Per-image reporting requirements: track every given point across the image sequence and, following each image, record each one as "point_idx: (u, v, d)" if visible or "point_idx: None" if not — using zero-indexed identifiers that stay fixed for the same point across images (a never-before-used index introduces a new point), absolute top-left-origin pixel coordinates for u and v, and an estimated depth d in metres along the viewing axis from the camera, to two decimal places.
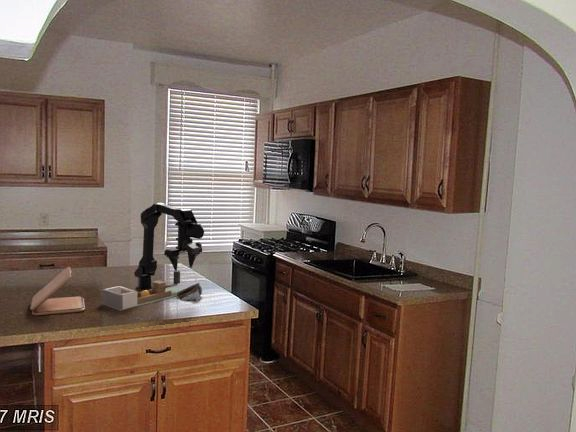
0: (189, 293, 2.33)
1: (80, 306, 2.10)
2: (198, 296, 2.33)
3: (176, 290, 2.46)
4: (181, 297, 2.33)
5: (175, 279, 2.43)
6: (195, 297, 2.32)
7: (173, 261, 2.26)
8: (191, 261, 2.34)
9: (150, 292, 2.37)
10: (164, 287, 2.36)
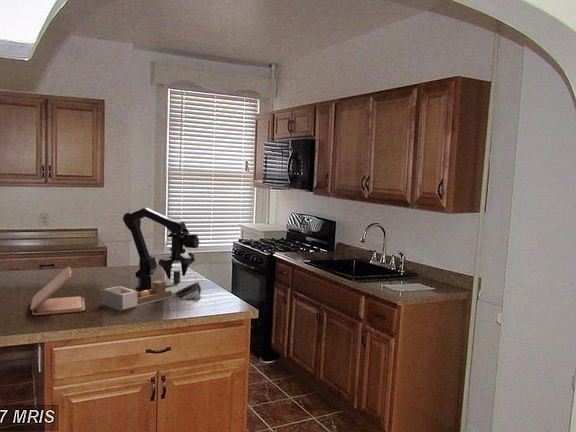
0: (189, 292, 2.35)
1: (80, 306, 2.10)
2: (198, 295, 2.34)
3: (176, 290, 2.46)
4: (181, 296, 2.34)
5: (175, 279, 2.43)
6: (195, 296, 2.33)
7: (167, 270, 2.40)
8: (184, 270, 2.48)
9: (150, 292, 2.37)
10: (164, 287, 2.36)
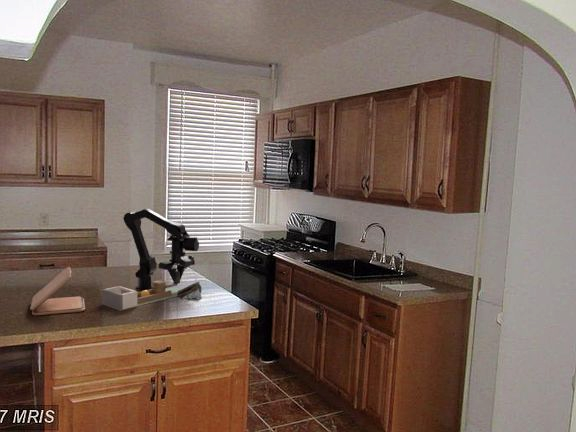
0: (190, 292, 2.35)
1: (80, 306, 2.10)
2: (199, 295, 2.35)
3: (176, 290, 2.46)
4: (182, 296, 2.35)
5: (175, 279, 2.43)
6: (196, 296, 2.34)
7: (171, 272, 2.42)
8: (180, 274, 2.46)
9: (150, 292, 2.37)
10: (164, 287, 2.36)
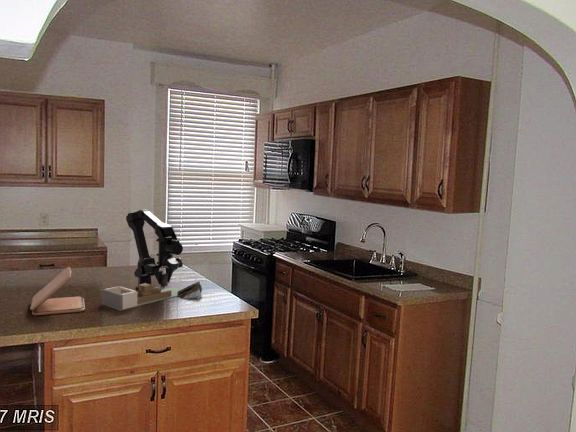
0: (190, 292, 2.35)
1: (80, 306, 2.10)
2: (199, 294, 2.36)
3: (176, 290, 2.46)
4: (182, 296, 2.35)
5: (162, 282, 2.37)
6: (197, 295, 2.34)
7: (157, 275, 2.35)
8: (168, 276, 2.40)
9: None
10: (151, 290, 2.30)
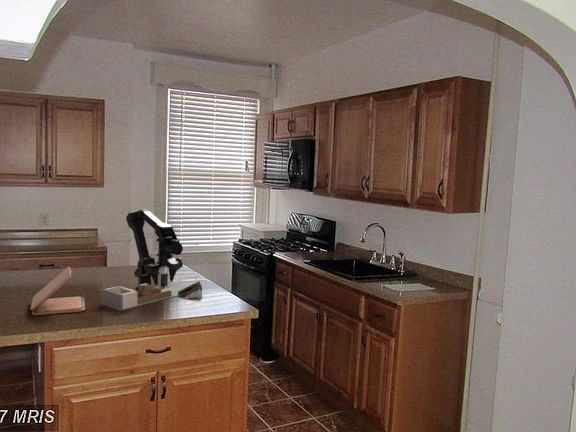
0: (191, 291, 2.36)
1: (80, 306, 2.10)
2: (200, 294, 2.36)
3: (176, 290, 2.46)
4: (183, 296, 2.35)
5: (162, 282, 2.37)
6: (197, 295, 2.35)
7: (154, 276, 2.34)
8: (172, 275, 2.42)
9: None
10: (151, 290, 2.30)
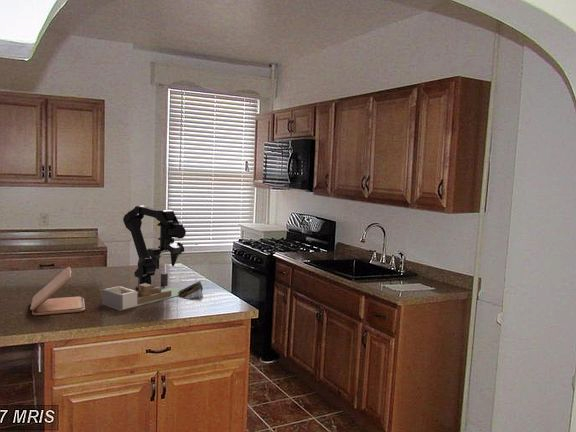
0: (192, 291, 2.36)
1: (80, 306, 2.10)
2: (201, 294, 2.37)
3: (176, 290, 2.46)
4: (184, 296, 2.36)
5: (162, 282, 2.37)
6: (198, 295, 2.35)
7: (155, 260, 2.35)
8: (173, 260, 2.43)
9: None
10: (151, 290, 2.30)
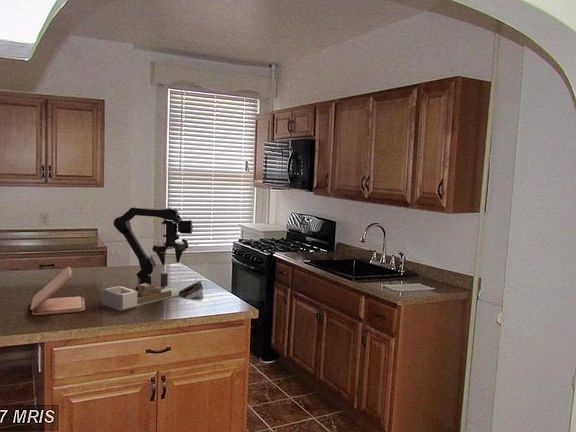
0: (192, 291, 2.37)
1: (80, 306, 2.10)
2: (201, 294, 2.37)
3: (176, 290, 2.46)
4: (184, 295, 2.36)
5: (162, 282, 2.37)
6: (199, 295, 2.36)
7: (161, 256, 2.43)
8: (178, 256, 2.52)
9: None
10: (151, 290, 2.30)
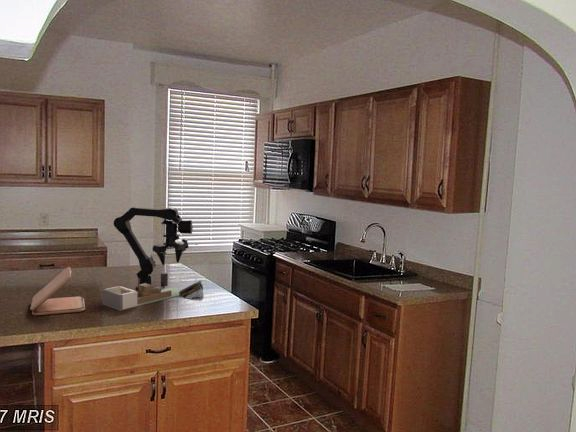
0: (192, 291, 2.37)
1: (80, 306, 2.10)
2: (202, 294, 2.37)
3: (176, 290, 2.46)
4: (184, 295, 2.36)
5: (162, 282, 2.37)
6: (199, 295, 2.36)
7: (161, 256, 2.43)
8: (178, 256, 2.52)
9: None
10: (151, 290, 2.30)
